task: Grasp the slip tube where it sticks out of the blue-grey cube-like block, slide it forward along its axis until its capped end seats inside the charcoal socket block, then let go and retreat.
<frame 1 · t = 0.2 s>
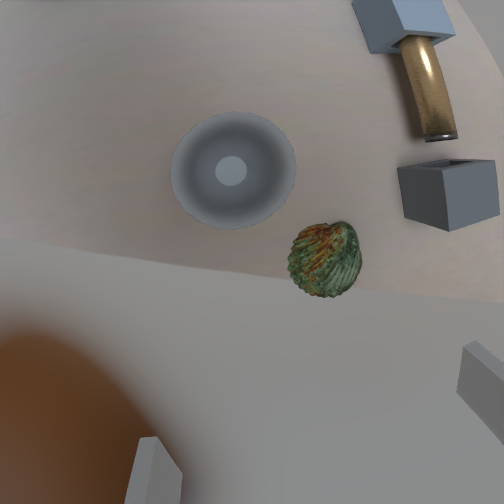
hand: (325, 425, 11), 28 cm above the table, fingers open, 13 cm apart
slip tube: (418, 52, 28), point 5 cm above the table, slide at 0.0 cm
chalice: (229, 171, 35), on the table
blue-grey cube-like block: (386, 27, 32), on the table
socket: (427, 187, 37), on the table
seashell: (326, 258, 39), on the table
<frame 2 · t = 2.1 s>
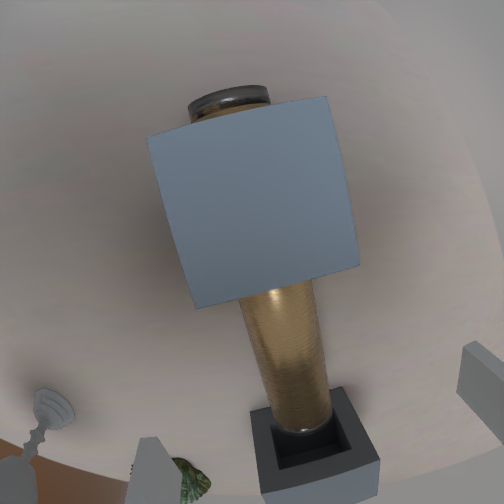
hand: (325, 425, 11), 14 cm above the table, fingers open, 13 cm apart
slip tube: (273, 286, 19), point 5 cm above the table, slide at 0.0 cm
chalice: (54, 405, 26), on the table
blue-grey cube-like block: (245, 189, 22), on the table
socket: (301, 421, 28), on the table
seashell: (171, 475, 30), on the table
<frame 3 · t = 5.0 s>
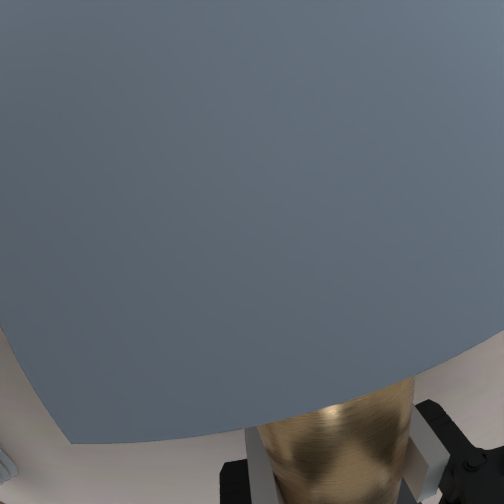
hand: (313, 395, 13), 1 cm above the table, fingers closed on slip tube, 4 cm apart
slip tube: (336, 423, 8), point 5 cm above the table, slide at 3.4 cm, touching gripper
blue-grey cube-like block: (251, 123, 11), on the table
socket: (329, 496, 16), on the table
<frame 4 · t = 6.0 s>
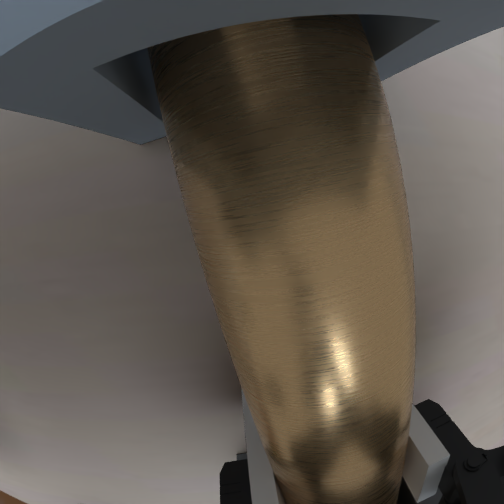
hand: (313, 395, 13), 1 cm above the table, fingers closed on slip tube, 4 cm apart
slip tube: (336, 423, 8), point 5 cm above the table, slide at 7.7 cm, touching gripper
blue-grey cube-like block: (223, 21, 10), on the table
socket: (324, 466, 15), on the table
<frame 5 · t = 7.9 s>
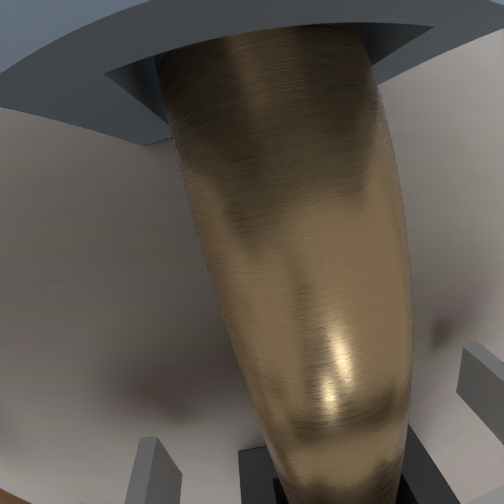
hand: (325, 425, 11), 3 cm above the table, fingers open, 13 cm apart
slip tube: (336, 419, 8), point 5 cm above the table, slide at 7.8 cm
blue-grey cube-like block: (225, 25, 10), on the table
socket: (325, 463, 16), on the table
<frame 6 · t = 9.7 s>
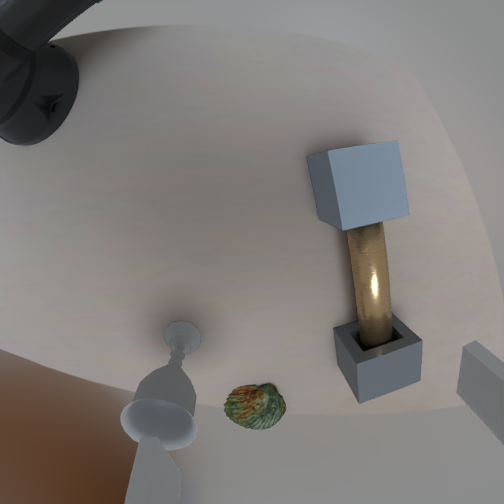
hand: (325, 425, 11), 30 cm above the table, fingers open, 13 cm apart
slip tube: (372, 292, 37), point 5 cm above the table, slide at 7.8 cm
chalice: (182, 336, 42), on the table
blue-grey cube-like block: (342, 182, 39), on the table
socket: (363, 338, 44), on the table
seashell: (256, 404, 46), on the table
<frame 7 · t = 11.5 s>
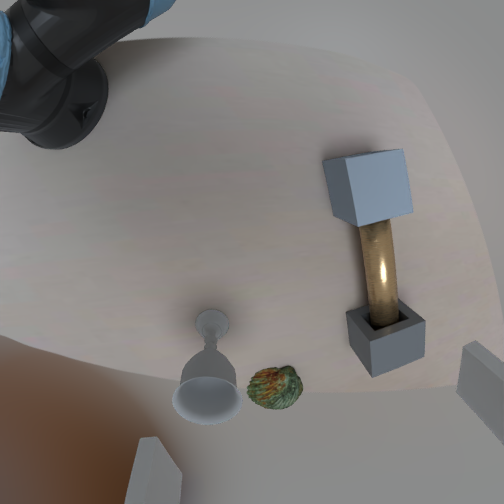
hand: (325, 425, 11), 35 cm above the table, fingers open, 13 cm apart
slip tube: (381, 279, 42), point 5 cm above the table, slide at 7.8 cm
chalice: (212, 324, 47), on the table
blue-grey cube-like block: (353, 183, 44), on the table
socket: (372, 321, 49), on the table
seashell: (276, 386, 52), on the table
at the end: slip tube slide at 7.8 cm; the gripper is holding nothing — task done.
